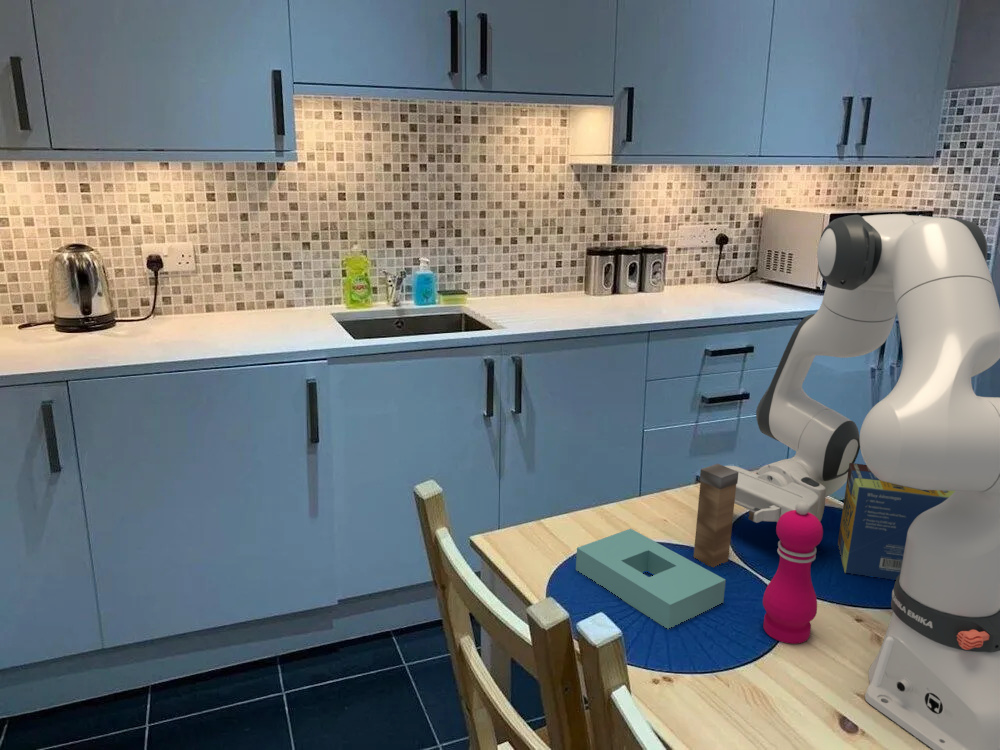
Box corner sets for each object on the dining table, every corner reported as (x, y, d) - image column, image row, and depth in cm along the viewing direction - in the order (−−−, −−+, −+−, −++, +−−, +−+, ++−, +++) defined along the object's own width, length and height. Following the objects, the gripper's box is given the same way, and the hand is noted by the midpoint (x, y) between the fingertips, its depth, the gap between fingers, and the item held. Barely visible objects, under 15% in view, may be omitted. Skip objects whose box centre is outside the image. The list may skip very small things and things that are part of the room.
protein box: (836, 544, 139) (848, 461, 135) (933, 557, 136) (949, 472, 131) (843, 574, 130) (857, 486, 125) (948, 589, 126) (966, 498, 122)
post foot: (723, 603, 121) (725, 579, 120) (668, 629, 114) (670, 604, 113) (629, 549, 136) (630, 528, 135) (575, 570, 130) (576, 547, 129)
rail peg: (729, 561, 133) (738, 471, 129) (712, 568, 131) (721, 477, 126) (709, 550, 137) (717, 463, 132) (692, 557, 134) (700, 469, 130)
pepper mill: (748, 623, 116) (763, 496, 110) (787, 612, 119) (804, 488, 113) (784, 651, 110) (801, 518, 104) (824, 639, 112) (843, 509, 107)
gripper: (734, 452, 148) (682, 468, 140) (834, 490, 132) (782, 510, 124) (730, 484, 150) (679, 501, 142) (829, 525, 134) (778, 547, 126)
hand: (728, 506), depth 133 cm, fingers open, 8 cm apart
